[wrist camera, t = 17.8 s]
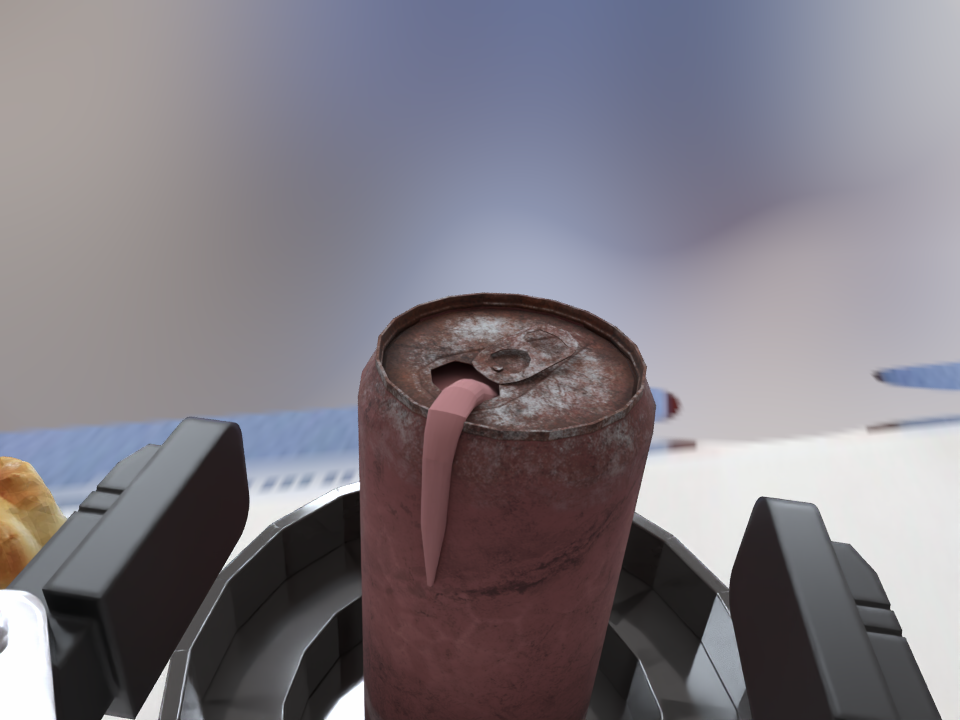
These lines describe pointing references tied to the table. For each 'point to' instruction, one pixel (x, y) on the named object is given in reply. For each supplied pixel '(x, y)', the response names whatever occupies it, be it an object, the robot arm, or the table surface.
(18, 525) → the pastry
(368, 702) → the can
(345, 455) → the table surface
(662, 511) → the table surface
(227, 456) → the robot arm
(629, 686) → the bowl
